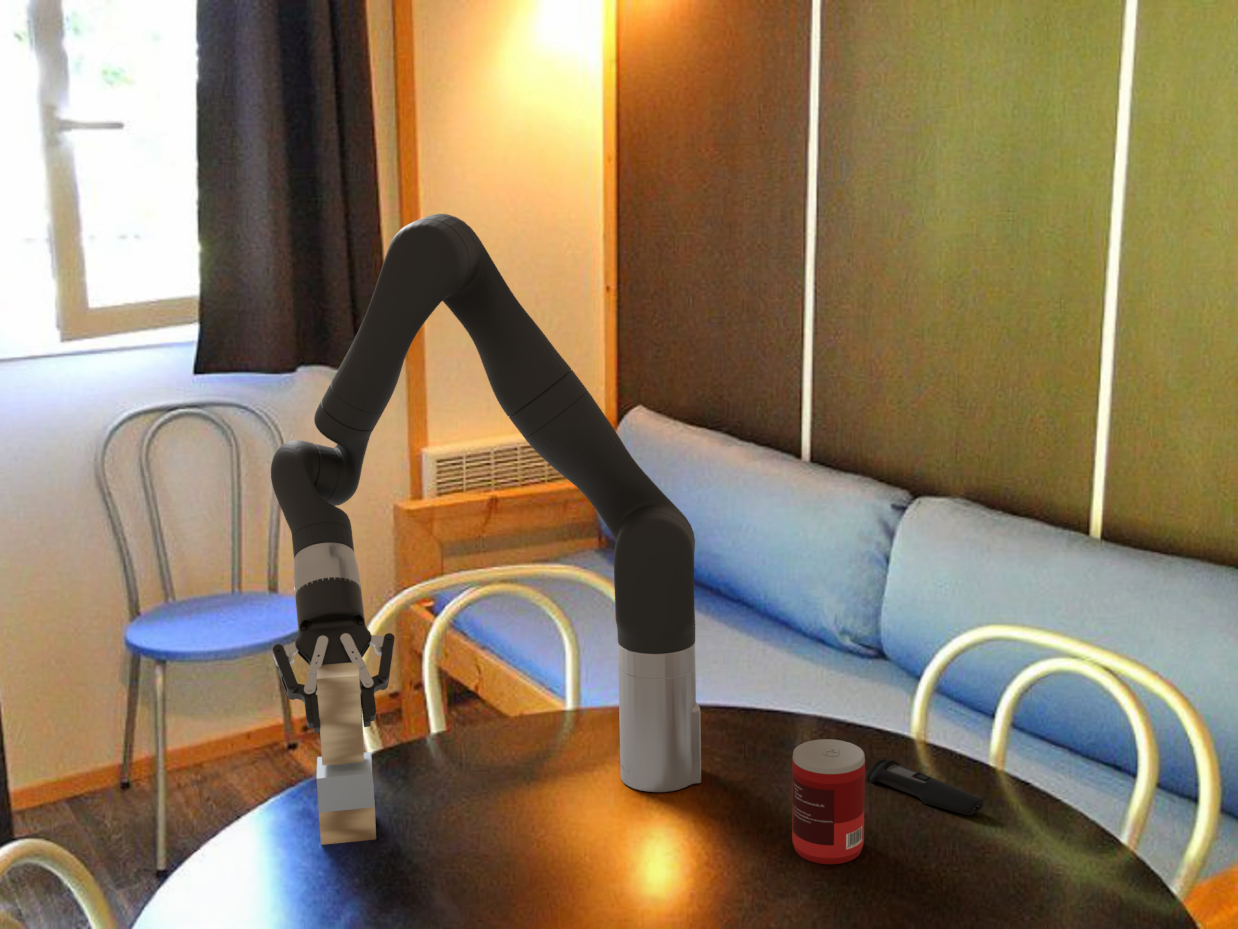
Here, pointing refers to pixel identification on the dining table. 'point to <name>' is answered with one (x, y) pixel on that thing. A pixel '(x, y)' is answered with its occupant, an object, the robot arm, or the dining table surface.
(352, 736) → the maple block
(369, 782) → the tower mid
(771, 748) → the dining table surface
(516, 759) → the dining table surface
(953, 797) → the electric trimmer
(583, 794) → the dining table surface
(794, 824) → the canned food
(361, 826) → the tower base
